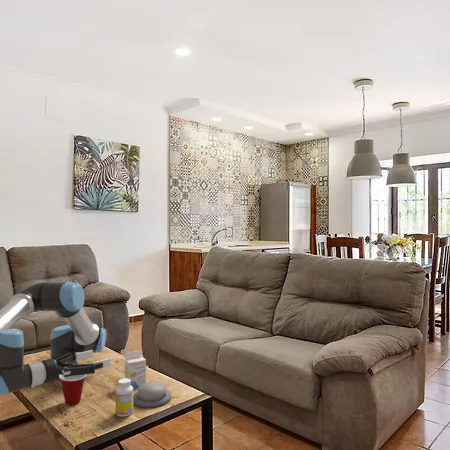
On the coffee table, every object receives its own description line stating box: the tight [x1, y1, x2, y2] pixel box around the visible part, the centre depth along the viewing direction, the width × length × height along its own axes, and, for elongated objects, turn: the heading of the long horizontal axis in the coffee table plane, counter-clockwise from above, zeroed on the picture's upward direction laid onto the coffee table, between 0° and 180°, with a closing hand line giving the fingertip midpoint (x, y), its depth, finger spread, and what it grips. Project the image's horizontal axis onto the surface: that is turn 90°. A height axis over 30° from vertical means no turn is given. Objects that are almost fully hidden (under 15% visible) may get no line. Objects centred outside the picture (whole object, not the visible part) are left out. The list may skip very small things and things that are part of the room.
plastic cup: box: [59, 374, 88, 406], centre depth 165 cm, size 11×11×12 cm
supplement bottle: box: [115, 377, 134, 418], centre depth 156 cm, size 7×7×13 cm
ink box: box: [124, 350, 147, 388], centre depth 183 cm, size 8×5×15 cm, turn 123°
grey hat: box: [133, 381, 172, 409], centre depth 168 cm, size 16×16×5 cm
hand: (101, 357), depth 149 cm, fingers open, 13 cm apart
